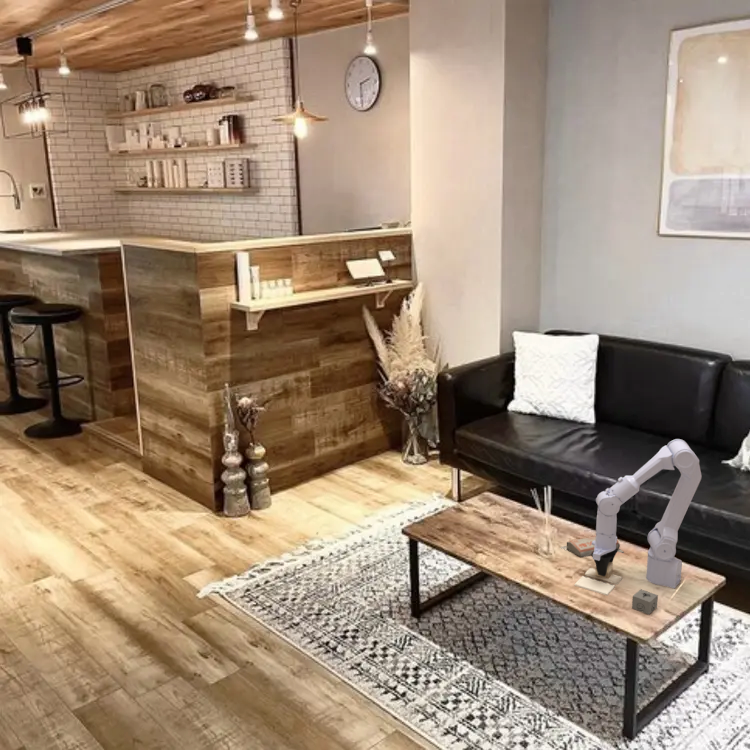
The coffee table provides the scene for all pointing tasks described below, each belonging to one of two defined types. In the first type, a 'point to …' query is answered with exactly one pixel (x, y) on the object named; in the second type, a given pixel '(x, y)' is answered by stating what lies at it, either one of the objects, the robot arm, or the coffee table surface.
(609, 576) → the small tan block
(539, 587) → the coffee table surface
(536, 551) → the coffee table surface
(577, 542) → the packaged product
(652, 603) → the dice cube
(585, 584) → the board
